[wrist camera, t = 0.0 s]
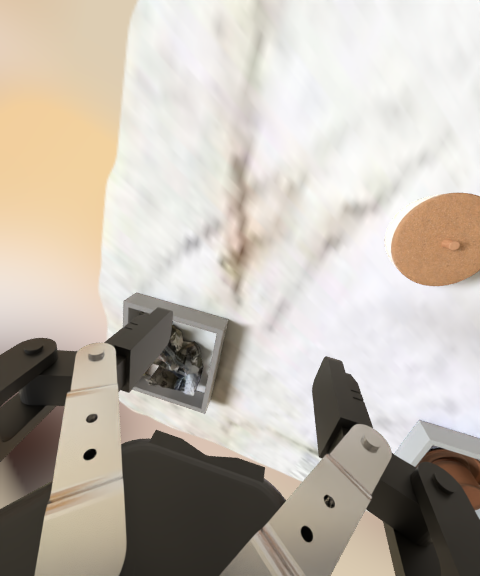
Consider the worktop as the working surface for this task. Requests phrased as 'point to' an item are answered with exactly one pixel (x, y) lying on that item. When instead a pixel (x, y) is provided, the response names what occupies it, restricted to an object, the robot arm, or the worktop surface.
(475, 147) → the worktop surface
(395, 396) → the worktop surface
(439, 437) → the grey square tray
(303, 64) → the worktop surface
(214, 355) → the foil frame
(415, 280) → the lidded jar
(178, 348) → the foil
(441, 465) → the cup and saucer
